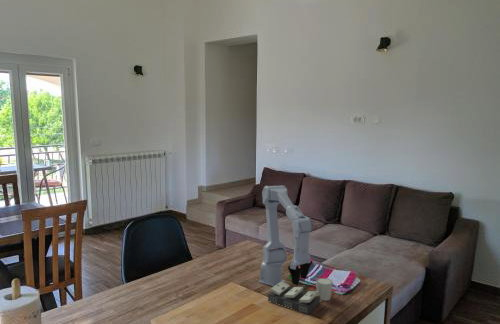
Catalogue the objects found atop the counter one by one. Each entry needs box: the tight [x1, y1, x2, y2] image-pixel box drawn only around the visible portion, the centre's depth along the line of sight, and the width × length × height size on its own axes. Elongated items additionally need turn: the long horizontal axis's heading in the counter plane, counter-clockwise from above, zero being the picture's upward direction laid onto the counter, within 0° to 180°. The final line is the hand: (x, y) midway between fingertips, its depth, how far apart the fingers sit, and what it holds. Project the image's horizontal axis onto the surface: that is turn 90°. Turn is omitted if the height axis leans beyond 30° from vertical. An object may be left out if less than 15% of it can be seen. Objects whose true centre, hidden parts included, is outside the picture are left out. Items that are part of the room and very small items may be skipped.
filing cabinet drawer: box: [284, 286, 304, 298], centre depth 148 cm, size 4×9×1 cm, turn 148°
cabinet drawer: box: [300, 290, 318, 303], centre depth 144 cm, size 4×9×1 cm, turn 148°
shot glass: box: [315, 277, 334, 302], centre depth 153 cm, size 7×7×7 cm
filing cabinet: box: [267, 286, 321, 316], centre depth 148 cm, size 18×11×4 cm, turn 57°
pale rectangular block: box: [270, 281, 291, 295], centre depth 151 cm, size 4×9×1 cm, turn 147°
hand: (299, 281), depth 146 cm, fingers open, 7 cm apart
